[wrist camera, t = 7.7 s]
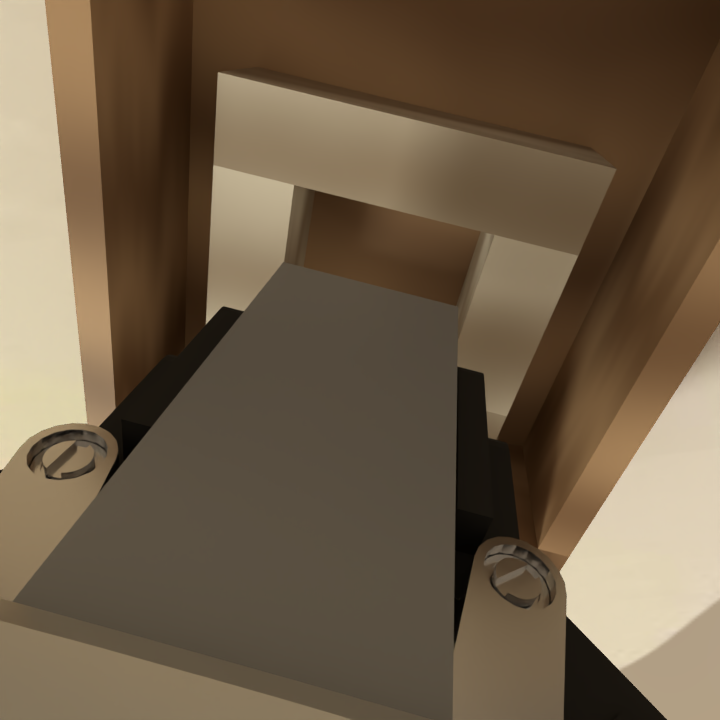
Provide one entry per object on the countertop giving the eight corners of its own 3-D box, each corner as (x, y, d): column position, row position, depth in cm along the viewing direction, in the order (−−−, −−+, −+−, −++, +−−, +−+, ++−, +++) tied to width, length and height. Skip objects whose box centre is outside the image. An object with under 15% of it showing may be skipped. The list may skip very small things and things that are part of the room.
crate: (177, -229, 13) (5, -392, 8) (809, -87, 13) (1035, -169, 8) (172, 360, 23) (90, 451, 18) (534, 455, 22) (556, 576, 17)
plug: (283, 262, 12) (-157, 812, 3) (458, 306, 12) (447, 993, 3) (265, 401, 14) (-34, 955, 6) (413, 441, 14) (336, 1068, 5)
